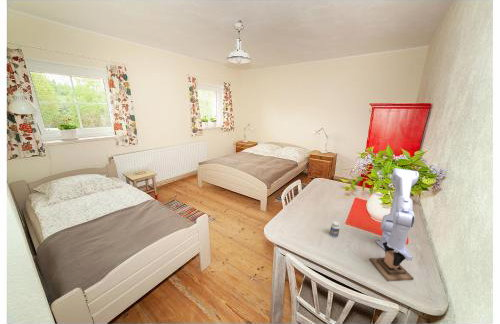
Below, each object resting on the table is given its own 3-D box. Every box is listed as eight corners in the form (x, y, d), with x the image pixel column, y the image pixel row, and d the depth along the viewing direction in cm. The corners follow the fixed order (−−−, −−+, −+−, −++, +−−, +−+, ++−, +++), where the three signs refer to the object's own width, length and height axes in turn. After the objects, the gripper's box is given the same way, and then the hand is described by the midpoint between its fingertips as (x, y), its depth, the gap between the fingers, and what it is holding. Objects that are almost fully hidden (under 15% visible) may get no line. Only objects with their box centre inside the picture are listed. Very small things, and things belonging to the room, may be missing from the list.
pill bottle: (329, 236, 112) (331, 224, 110) (329, 231, 117) (331, 219, 114) (338, 238, 111) (340, 225, 108) (338, 233, 115) (340, 221, 113)
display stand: (391, 259, 96) (393, 254, 95) (412, 279, 84) (414, 274, 84) (369, 260, 95) (370, 255, 94) (387, 281, 84) (388, 276, 83)
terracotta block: (391, 261, 91) (394, 250, 89) (398, 267, 87) (401, 257, 85) (383, 261, 91) (386, 250, 89) (390, 268, 87) (393, 257, 85)
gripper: (378, 227, 91) (373, 250, 95) (404, 248, 77) (396, 275, 81) (392, 226, 92) (386, 250, 96) (420, 247, 78) (411, 274, 82)
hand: (391, 261), depth 88 cm, fingers closed on terracotta block, 4 cm apart
